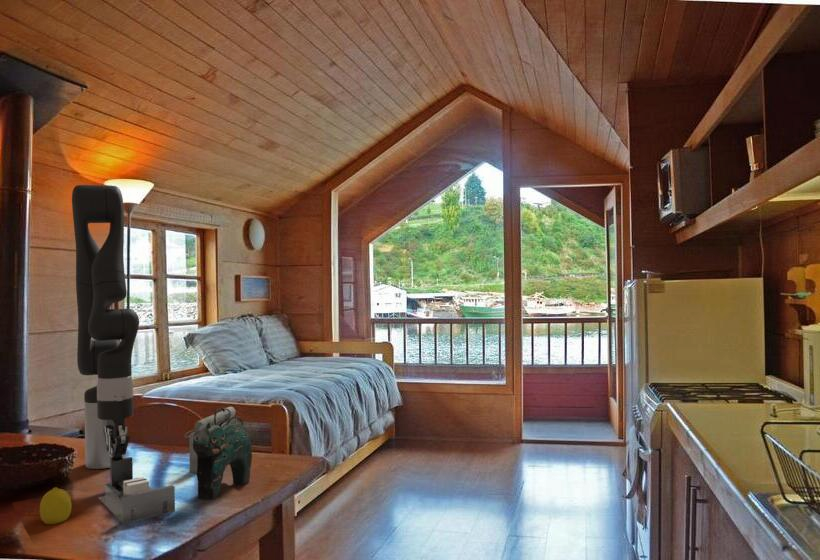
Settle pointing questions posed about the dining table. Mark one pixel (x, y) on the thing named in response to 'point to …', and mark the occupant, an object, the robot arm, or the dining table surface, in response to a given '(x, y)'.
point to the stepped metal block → (120, 472)
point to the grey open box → (139, 503)
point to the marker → (135, 486)
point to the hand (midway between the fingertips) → (116, 472)
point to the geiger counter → (220, 418)
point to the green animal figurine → (221, 455)
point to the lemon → (55, 506)
